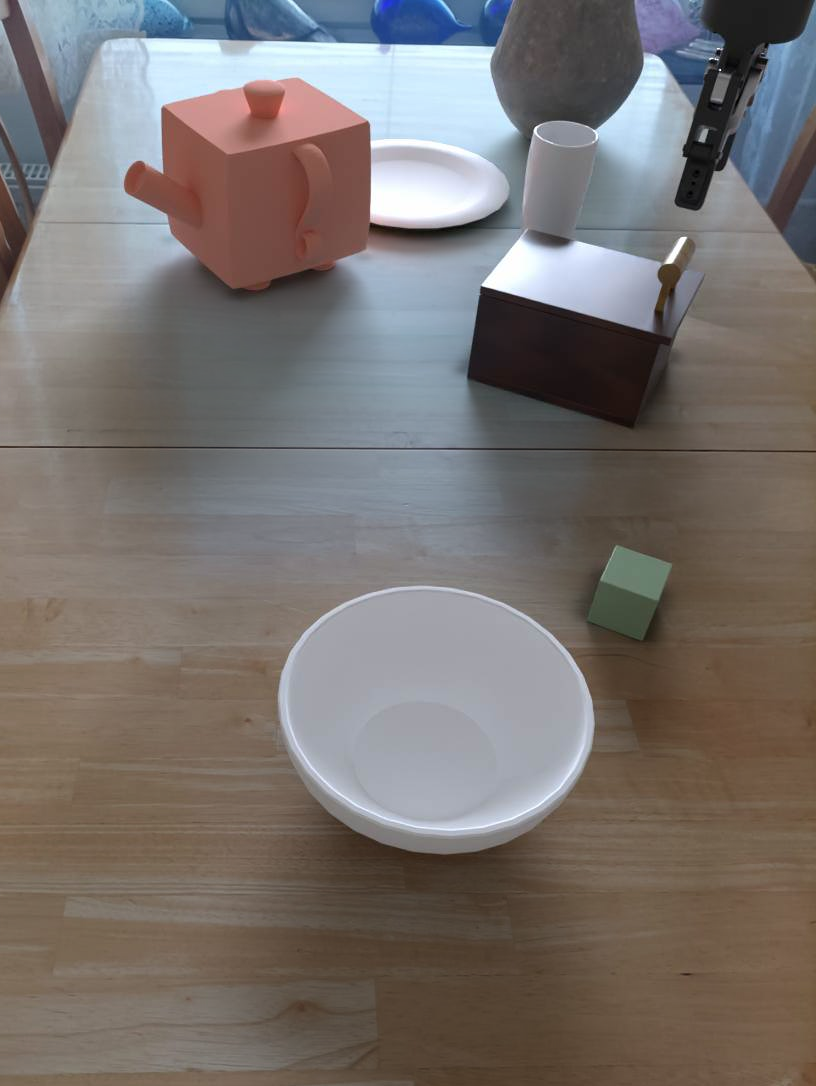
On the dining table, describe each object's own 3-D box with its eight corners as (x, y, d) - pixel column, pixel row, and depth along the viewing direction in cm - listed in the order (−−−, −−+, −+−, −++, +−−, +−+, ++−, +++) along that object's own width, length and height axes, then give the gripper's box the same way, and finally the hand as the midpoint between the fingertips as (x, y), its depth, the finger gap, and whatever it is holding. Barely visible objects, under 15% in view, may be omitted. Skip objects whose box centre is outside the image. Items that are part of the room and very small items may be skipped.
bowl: (341, 621, 73) (345, 553, 68) (596, 700, 69) (622, 634, 64) (229, 832, 61) (223, 768, 56) (530, 943, 57) (555, 887, 52)
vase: (555, 177, 126) (601, -53, 107) (454, 127, 136) (479, -92, 117) (651, 141, 135) (709, -78, 116) (550, 97, 144) (588, -112, 125)
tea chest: (667, 362, 98) (694, 279, 92) (633, 429, 91) (660, 344, 84) (511, 318, 103) (526, 236, 96) (466, 378, 95) (479, 294, 89)
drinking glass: (503, 282, 108) (527, 141, 96) (514, 254, 112) (538, 116, 101) (563, 293, 107) (595, 151, 95) (572, 264, 111) (604, 125, 100)
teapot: (189, 342, 98) (171, 160, 84) (95, 248, 110) (67, 76, 97) (390, 279, 107) (403, 106, 94) (283, 199, 120) (282, 36, 106)
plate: (268, 184, 122) (268, 171, 121) (409, 135, 133) (411, 122, 132) (407, 262, 110) (408, 247, 109) (549, 200, 121) (552, 187, 120)
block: (657, 604, 76) (673, 563, 72) (642, 641, 73) (658, 601, 70) (602, 585, 77) (616, 544, 74) (585, 621, 74) (599, 580, 71)
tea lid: (702, 281, 91) (721, 226, 87) (669, 346, 84) (687, 289, 80) (526, 236, 96) (536, 182, 92) (479, 293, 88) (487, 237, 85)
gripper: (812, -12, 62) (727, 233, 75) (842, -62, 71) (761, 165, 83) (696, -32, 64) (631, 210, 77) (739, -78, 73) (675, 146, 85)
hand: (699, 187), depth 80 cm, fingers open, 8 cm apart
